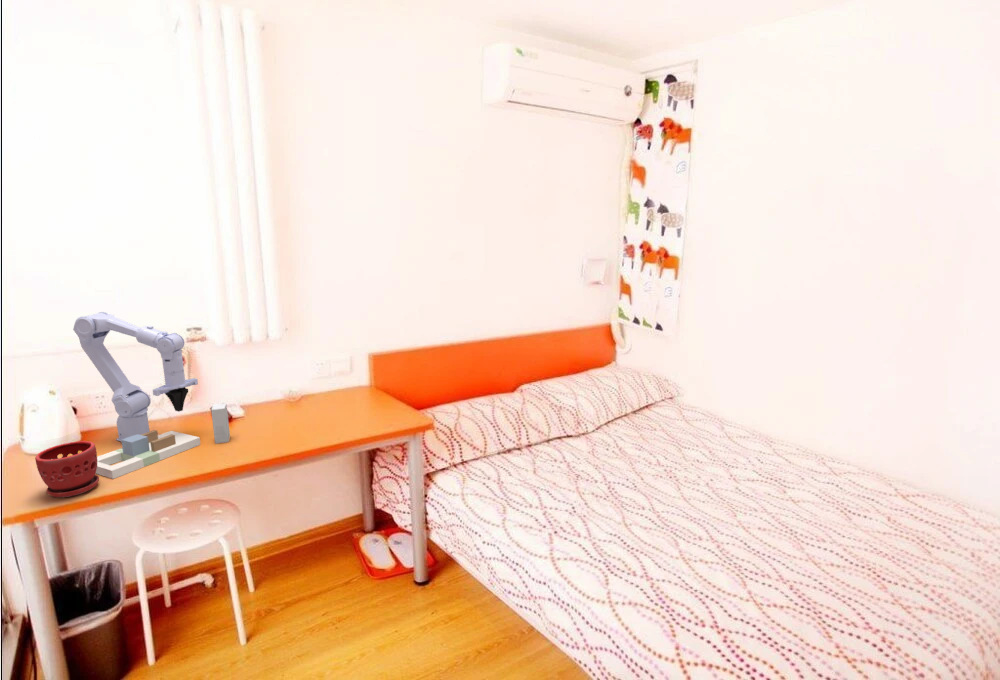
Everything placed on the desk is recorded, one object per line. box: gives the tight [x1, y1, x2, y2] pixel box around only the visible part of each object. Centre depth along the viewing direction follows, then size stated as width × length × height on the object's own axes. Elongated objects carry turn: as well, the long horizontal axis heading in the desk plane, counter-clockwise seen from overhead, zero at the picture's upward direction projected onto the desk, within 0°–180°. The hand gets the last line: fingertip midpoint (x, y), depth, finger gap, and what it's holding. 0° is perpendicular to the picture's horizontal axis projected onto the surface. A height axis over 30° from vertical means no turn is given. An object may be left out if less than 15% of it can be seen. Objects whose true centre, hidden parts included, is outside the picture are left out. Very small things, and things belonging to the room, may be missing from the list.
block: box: [120, 434, 150, 456], centre depth 175 cm, size 5×5×4 cm
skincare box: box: [211, 402, 231, 444], centre depth 190 cm, size 6×4×12 cm
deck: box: [95, 429, 202, 480], centre depth 177 cm, size 14×28×6 cm, turn 155°
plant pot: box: [34, 440, 100, 498], centre depth 155 cm, size 13×13×12 cm
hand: (179, 410), depth 189 cm, fingers closed
